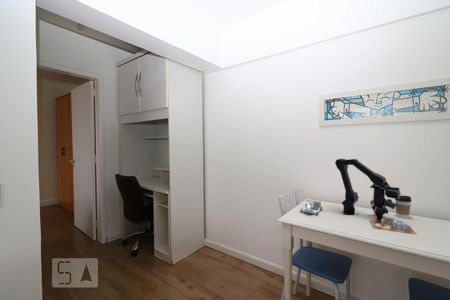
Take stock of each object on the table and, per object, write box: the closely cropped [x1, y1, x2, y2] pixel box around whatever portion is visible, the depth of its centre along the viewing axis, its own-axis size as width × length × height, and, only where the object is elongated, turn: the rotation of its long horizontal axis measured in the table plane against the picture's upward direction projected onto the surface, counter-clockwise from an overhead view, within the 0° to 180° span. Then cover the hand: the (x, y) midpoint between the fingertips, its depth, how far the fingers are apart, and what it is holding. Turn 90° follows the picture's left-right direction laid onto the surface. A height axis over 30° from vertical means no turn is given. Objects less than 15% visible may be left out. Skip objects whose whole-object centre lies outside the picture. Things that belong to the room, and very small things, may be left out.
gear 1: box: [371, 213, 386, 221], centre depth 135 cm, size 6×6×4 cm
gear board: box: [368, 218, 418, 236], centre depth 122 cm, size 20×13×6 cm, turn 64°
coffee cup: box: [394, 195, 412, 219], centre depth 138 cm, size 8×8×15 cm
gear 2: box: [392, 219, 408, 231], centre depth 121 cm, size 6×6×4 cm
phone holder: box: [299, 198, 323, 217], centre depth 153 cm, size 18×10×12 cm
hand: (378, 219), depth 135 cm, fingers closed on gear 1, 6 cm apart
